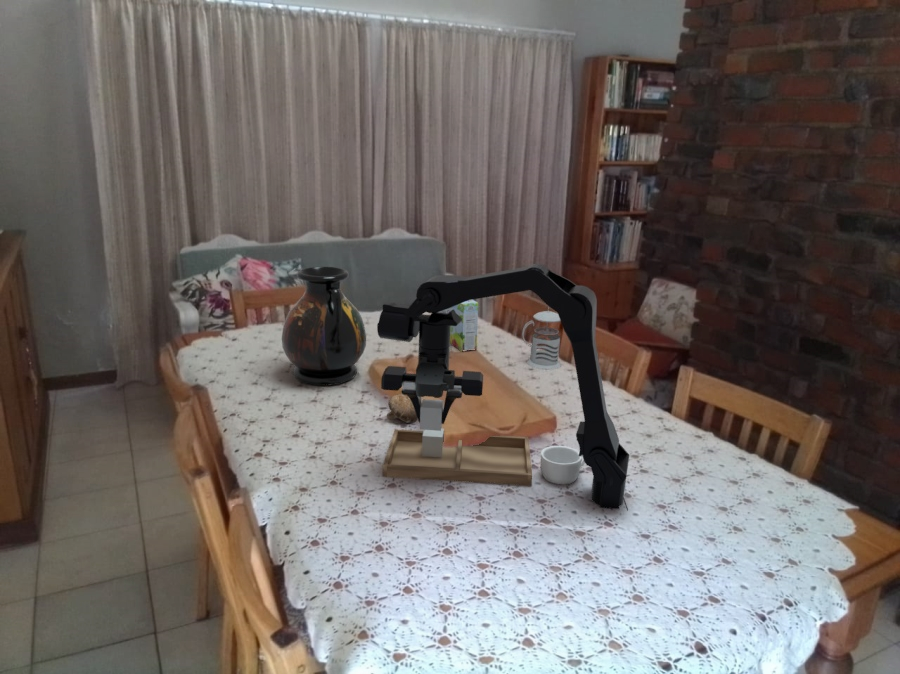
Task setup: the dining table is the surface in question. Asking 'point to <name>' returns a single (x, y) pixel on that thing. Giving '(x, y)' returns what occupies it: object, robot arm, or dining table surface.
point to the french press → (544, 342)
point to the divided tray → (461, 460)
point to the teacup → (560, 464)
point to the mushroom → (401, 409)
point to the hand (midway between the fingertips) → (431, 422)
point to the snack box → (465, 326)
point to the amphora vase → (323, 330)
